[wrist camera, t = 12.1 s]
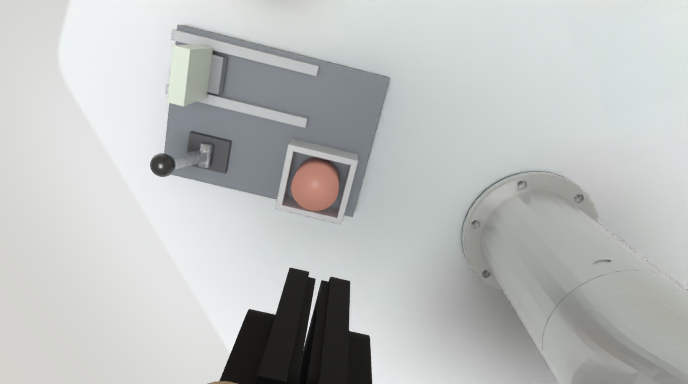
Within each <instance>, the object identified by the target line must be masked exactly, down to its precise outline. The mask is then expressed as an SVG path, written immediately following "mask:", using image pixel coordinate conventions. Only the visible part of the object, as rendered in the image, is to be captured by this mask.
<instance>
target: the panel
mask: <svg viewBox="0 0 688 384" xmlns="http://www.w3.org/2000/svg"><path fill="white" fill-rule="evenodd" d="M171 40H174V41H176V45H202V46H206V47H210V48H213V53H214V54H218V55H222V56H226V57H227V64H226V71H225V78H224V85H223V92H222V93H221V94H214V93H210V92H207V98H205V99H202V100H199V101H197V102H194V103H191V104H189V105H186V106H180V105H176V104H172V103H169V113H168V122H167V132H166V142H165V151H164V154H168V155H170V156H174V155H178V154H183V153H188V152H192V151H197V150H200V145H201V143H202V142H206V143H211V144H212V145H213V147H212V154H211V161H210V167H209V168H202V167H199V166H198V164H194V165H190V166H186V167H183V168H179V169H175V170H174V172H173V173H172V174H171V175H175V176H180V177H184V178H188V179H193V180H197V181H201V182H205V183H210V184H214V185H218V186H222V187H227V188H231V189H235V190H239V191H244V192H248V193H252V194H256V195H261V196H265V197H269V198H274V199H277V203H276V208H275V209H277V210H282V211H286V212H290V213H294V214H299V215H303V216H307V217H312V218H316V219H320V220H324V221H329V222H333V223H337V224H342V221H343V217H344V215H346V216H350V217H353V214H354V210H355V206H356V203H357V199H358V195H359V192H360V188H361V184H362V180H363V177H364V173H365V169H366V166H367V162H368V158H369V154H370V151H371V147H372V143H373V140H374V136H375V132H376V129H377V125H378V121H379V117H380V114H381V110H382V106H383V103H384V99H385V95H386V91H387V88H388V84H389V80H390V78H389V77H386V76H382V75H378V74H374V73H370V72H366V71H362V70H358V69H355V68H351V67H347V66H343V65H339V64H335V63H331V62H327V61H323V60H319V59H315V58H311V57H307V56H303V55H299V54H295V53H291V52H287V51H284V50H280V49H276V48H272V47H268V46H264V45H260V44H256V43H252V42H248V41H244V40H240V39H236V38H232V37H228V36H224V35H220V34H216V33H213V32H209V31H205V30H201V29H197V28H193V27H189V26H185V25H178V26H177V30H172V37H171ZM168 88H169V84H167V86H166V94H168ZM312 157H319V158H323V159H327V160H330V161H331V162H332V163H333V164H334V165H335V166H336V167H337V169H338V171H339V175H340V183H339V191H338V196H337V198H336V200H335V202H334V203H333V204H332V205H331V206H330V207H328V208H326V209H324V210H320V211H311V210H307V209H305V208H303V207H301V206H300V205H299V204H298V203H297V202H296V201H295V199H294V197H293V195H292V191H291V184H292V180H293V178H294V176H295V174H296V172H297V169H298V167H299V166H300V165H301V163H302V162H304V161H305V160H307V159H309V158H312Z"/></svg>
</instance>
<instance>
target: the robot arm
mask: <svg viewBox="0 0 688 384" xmlns="http://www.w3.org/2000/svg"><path fill="white" fill-rule="evenodd" d="M519 181H521V183H520V184H518V182H519ZM575 196H576V197H575ZM574 197H575V198H574ZM475 220H476V221H475ZM473 221H475V222H474V223H472V222H473ZM462 245H463V250H464V254H465V256H466V259H467V261H468V263H469V265H470V266H471V268H472V270H473V271H474V273H475V274H476V275H477V276H478V277H479V278H480V279H481V280H482V281H483V282H485V283H486V284H488V285H489V286H491V287H493V288H495V289H498V290H500V291H503V292H504V293H505V294H506V296H507V298H508V299H509V301H510V303H511V304H512V306H513V308H514V309H515V311H516V313H517V315H518V316H519V318H520V320H521V321H522V323H523V325H524V326H525V328H526V330H527V331H528V333H529V335H530V337H531V338H532V340H533V342H534V343H535V345H536V347H537V348H538V350H539V352H540V354H541V355H542V357H543V359H544V360H545V362H546V364H547V365H548V367H549V369H550V371H551V372H552V374H553V376H554V377H555V379H556V380H557V382H558V384H688V290H687V289H685V288H684V287H683V286H681V285H680V284H679V283H677V282H676V281H674V280H673V279H672V278H670V277H669V276H668V275H666V274H665V273H664V272H662V271H661V270H660V269H658V268H657V267H656V266H654V265H653V264H652V263H650V262H649V261H648V260H646V259H645V258H644V257H642V256H641V255H640V254H638V253H637V252H636V251H634V250H633V249H632V248H630V247H629V246H628V245H626V244H625V243H624V242H622V241H621V240H620V239H618V238H617V237H616V236H614V235H613V234H612V233H610V232H609V231H608V230H606V229H605V228H604V227H602V226H601V225H600V224H598V215H597V212H596V209H595V207H594V204H593V203H592V201H591V199H590V198H589V196H588V195H587V194H586V193H585V192H584V191H583V190H582V189H581V188H580V187H579V186H577V185H576V184H574V183H573V182H571V181H570V180H568V179H566V178H564V177H562V176H559V175H556V174H552V173H548V172H526V173H520V174H516V175H513V176H510V177H507V178H505V179H503V180H501V181H499V182H497V183H495V184H494V185H492V186H491V187H490V188H488V189H487V190H486V191H484V193H483V194H482V195H481V196H480V197H479V198H478V199H477V200H476V201H475V203H474V204H473V206H472V207H471V209H470V210H469V212H468V215H467V217H466V219H465V222H464V226H463V231H462ZM484 270H485V271H484ZM308 275H309V272H308V271H303V270H299V269H294V268H289V272H288V275H287V278H286V282H285V285H284V288H283V292H282V295H281V299H280V302H279V305H278V309H277V312H276V315H274V314H269V313H265V312H260V311H256V310H251V309H249V310H248V312H247V314H246V317H245V319H244V322H243V324H242V327H241V329H240V331H239V334H238V336H237V339H236V341H235V344H234V346H233V349H232V351H231V354H230V356H229V359H228V361H227V364H226V366H225V369H224V372H223V374H222V376H221V379H220V381H219V382H212V383H209V384H372V371H371V349H370V337H369V335H365V334H360V333H356V332H351V331H349V305H350V281H347V280H343V279H338V278H334V277H330V279H329V282H327V281H323V280H322V281H321V284H320V288H319V292H318V296H317V300H316V304H315V307H314V311H313V315H312V319H311V323H310V327H309V331H308V335H307V339H306V342H305V338H306V332H307V326H308V320H309V314H310V309H311V303H312V297H313V291H314V285H315V280H316V279H314V278H310V277H308ZM304 343H305V346H304ZM303 349H304V350H303Z"/></svg>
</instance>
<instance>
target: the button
mask: <svg viewBox="0 0 688 384" xmlns="http://www.w3.org/2000/svg"><path fill="white" fill-rule="evenodd" d="M339 183H340V175H339V171H338V169H337V167H336V166H335V165H334V164H333V163H332V162H331V161H330V160H327V159H323V158H319V157H312V158H309V159H307V160H305V161H304V162H302V163H301V165H300V166H299V167H298V169H297V172H296V174H295V176H294V178H293V180H292V184H291V191H292V195H293V197H294V199H295V201H296V202H297V203H298V204H299V205H300V206H301V207H303V208H305V209H307V210H311V211H320V210H324V209H326V208H328V207H330V206H331V205H332V204H333V203H334V202H335V200H336V198H337V196H338V191H339Z"/></svg>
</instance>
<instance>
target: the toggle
mask: <svg viewBox="0 0 688 384" xmlns="http://www.w3.org/2000/svg"><path fill="white" fill-rule="evenodd" d="M212 147H213V145H212V144H211V143H206V142H202V143H201V145H200V150H197V151H192V152H188V153H183V154H178V155H174V156H170V155H168V154H164V153H161V154H157V155H155V156H154V157H153V158H152V160H151V162H150V167H151V170H152V172H153V173H154V174H156V175H157V176H160V177H166V176H169V175H171V174H172V173H173V172H174V170H175V169H179V168H183V167H186V166H190V165H194V164H198V166H199V167H202V168H209V167H210V161H211V154H212Z"/></svg>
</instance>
